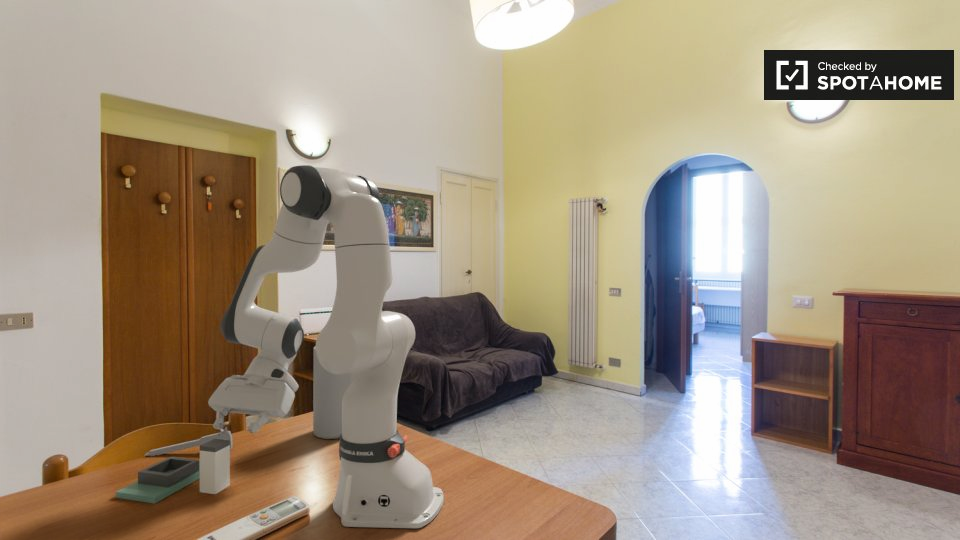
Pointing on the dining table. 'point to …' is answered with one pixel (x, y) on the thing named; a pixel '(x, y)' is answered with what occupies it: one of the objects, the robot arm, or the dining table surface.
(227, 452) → the plug
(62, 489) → the dining table surface
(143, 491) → the socket
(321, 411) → the cylinder vase
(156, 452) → the caliper
